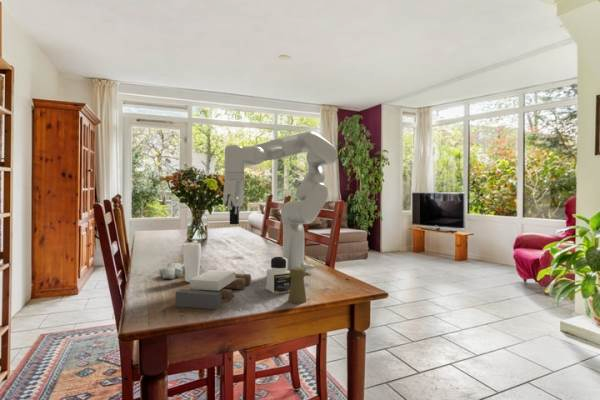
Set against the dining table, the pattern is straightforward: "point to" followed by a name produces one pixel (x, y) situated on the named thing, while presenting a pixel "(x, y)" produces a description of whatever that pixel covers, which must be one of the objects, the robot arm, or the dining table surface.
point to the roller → (225, 293)
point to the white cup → (191, 259)
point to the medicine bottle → (278, 276)
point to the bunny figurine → (172, 270)
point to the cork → (297, 286)
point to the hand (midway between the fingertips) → (234, 224)
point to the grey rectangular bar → (199, 299)
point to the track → (238, 283)
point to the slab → (212, 280)
